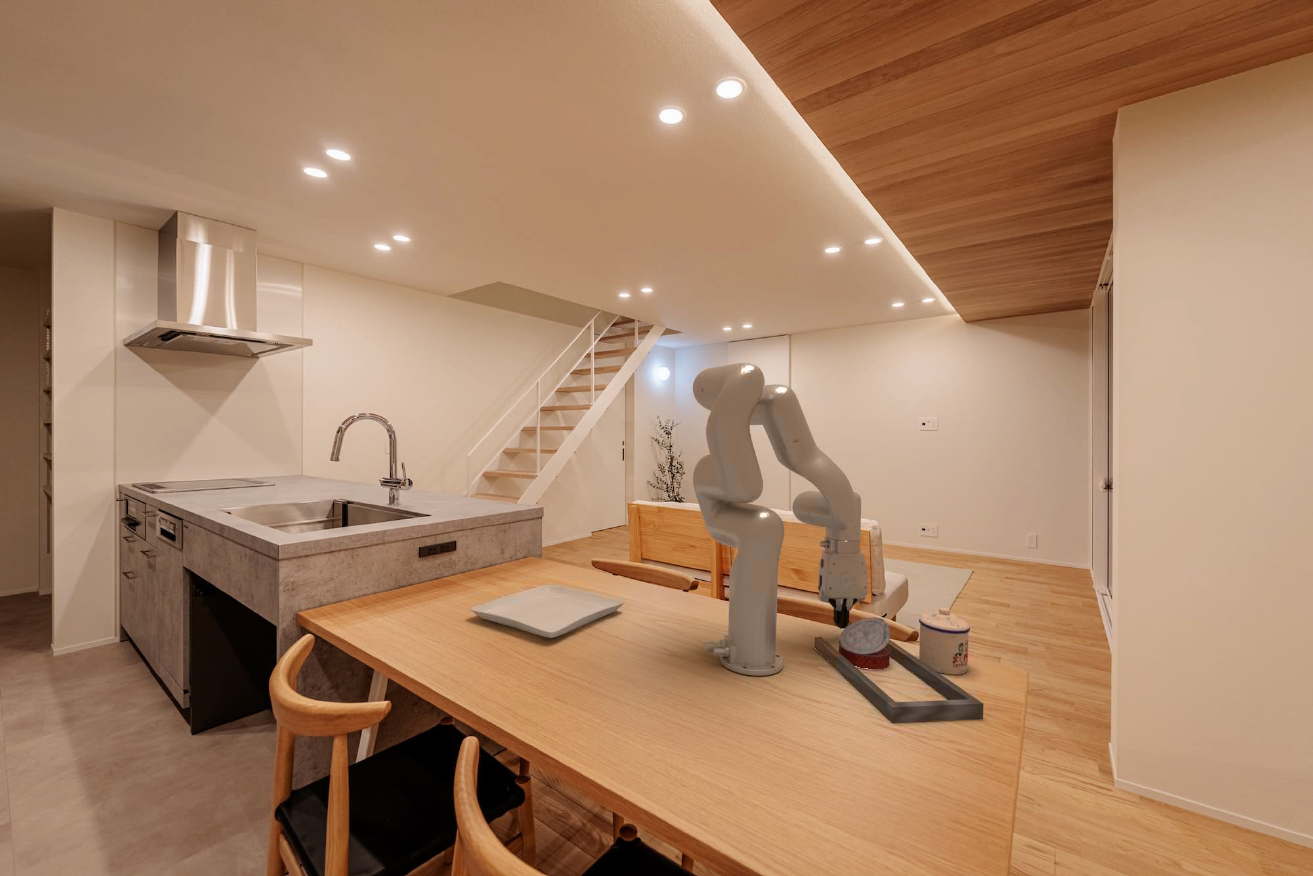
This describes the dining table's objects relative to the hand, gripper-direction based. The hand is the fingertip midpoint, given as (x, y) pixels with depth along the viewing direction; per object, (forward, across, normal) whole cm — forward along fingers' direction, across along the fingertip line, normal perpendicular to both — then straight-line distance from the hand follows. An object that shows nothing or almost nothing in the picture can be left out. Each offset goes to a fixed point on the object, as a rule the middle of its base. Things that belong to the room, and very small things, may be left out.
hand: (841, 626), depth 120 cm
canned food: (+3, 0, -11) cm, 11 cm away
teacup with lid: (+3, +16, -14) cm, 21 cm away
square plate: (+3, -66, +18) cm, 69 cm away
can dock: (+3, 0, -19) cm, 20 cm away
